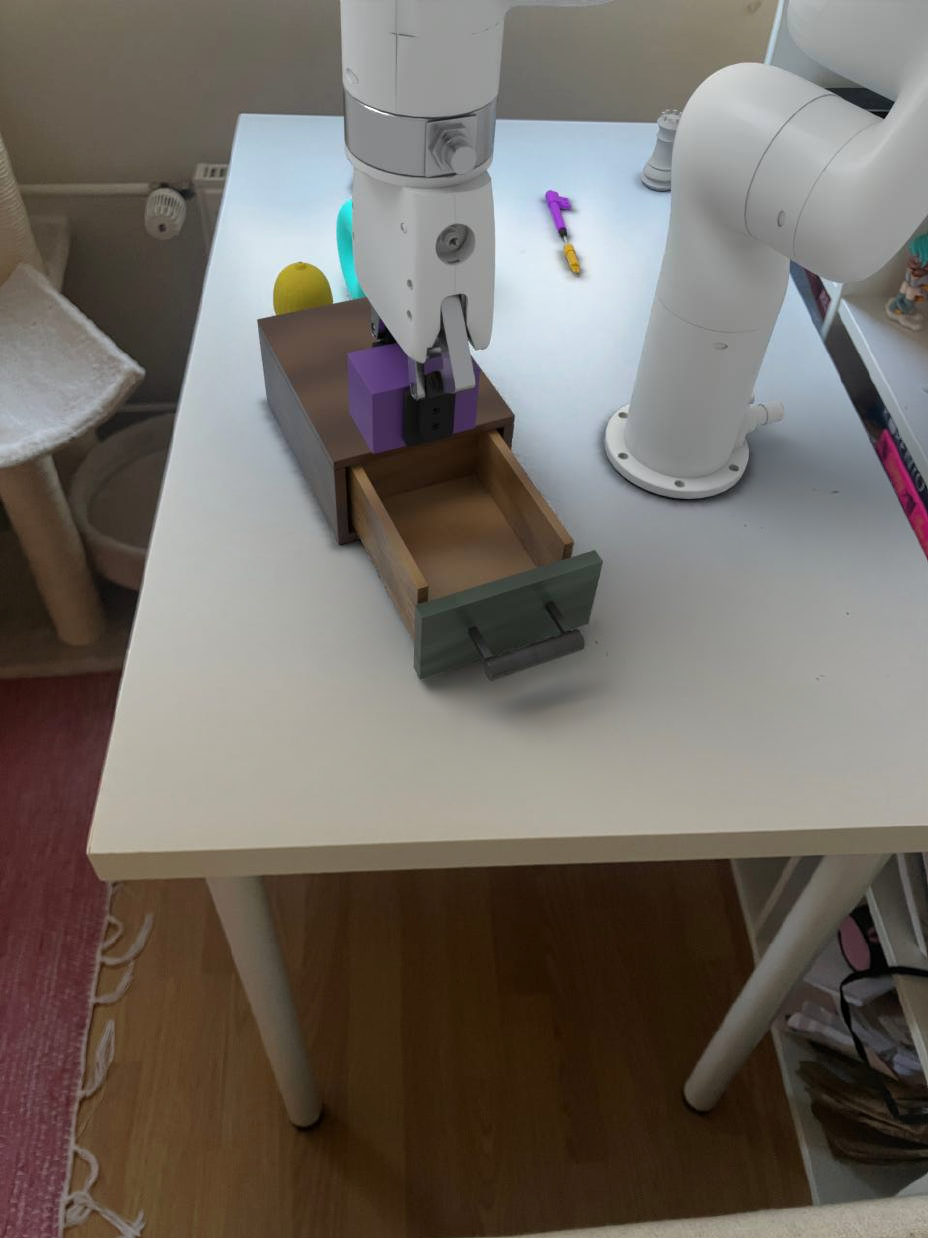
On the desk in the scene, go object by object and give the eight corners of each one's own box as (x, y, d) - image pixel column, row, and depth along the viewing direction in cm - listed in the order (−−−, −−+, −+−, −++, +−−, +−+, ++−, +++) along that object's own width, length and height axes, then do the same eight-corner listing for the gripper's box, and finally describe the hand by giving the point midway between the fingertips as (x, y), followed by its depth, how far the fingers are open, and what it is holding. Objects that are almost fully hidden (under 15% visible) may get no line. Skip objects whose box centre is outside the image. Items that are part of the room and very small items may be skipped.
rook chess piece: (683, 181, 120) (699, 112, 114) (667, 196, 118) (682, 127, 111) (649, 169, 121) (663, 101, 115) (633, 184, 119) (646, 115, 113)
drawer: (617, 666, 72) (634, 605, 67) (444, 727, 68) (448, 666, 63) (488, 473, 84) (494, 407, 79) (334, 514, 80) (330, 448, 75)
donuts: (460, 312, 101) (465, 218, 93) (365, 329, 98) (362, 234, 90) (425, 259, 106) (428, 167, 99) (335, 275, 104) (330, 181, 96)
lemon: (325, 359, 95) (320, 284, 88) (269, 349, 95) (260, 274, 89) (341, 326, 98) (338, 251, 92) (287, 317, 99) (280, 241, 92)
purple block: (448, 389, 66) (452, 329, 63) (475, 428, 64) (480, 368, 60) (348, 413, 64) (346, 353, 61) (373, 454, 62) (372, 394, 58)
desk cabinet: (505, 498, 84) (515, 415, 77) (338, 545, 80) (333, 461, 73) (419, 367, 95) (421, 284, 88) (267, 403, 90) (256, 318, 83)
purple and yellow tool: (542, 196, 115) (569, 275, 106) (546, 186, 115) (573, 265, 105) (564, 201, 116) (592, 280, 106) (568, 191, 115) (596, 270, 106)
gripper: (567, 192, 46) (524, 485, 60) (422, 46, 56) (415, 330, 70) (416, 218, 44) (408, 517, 58) (292, 62, 53) (311, 352, 67)
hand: (412, 412), depth 64 cm, fingers closed on purple block, 4 cm apart
